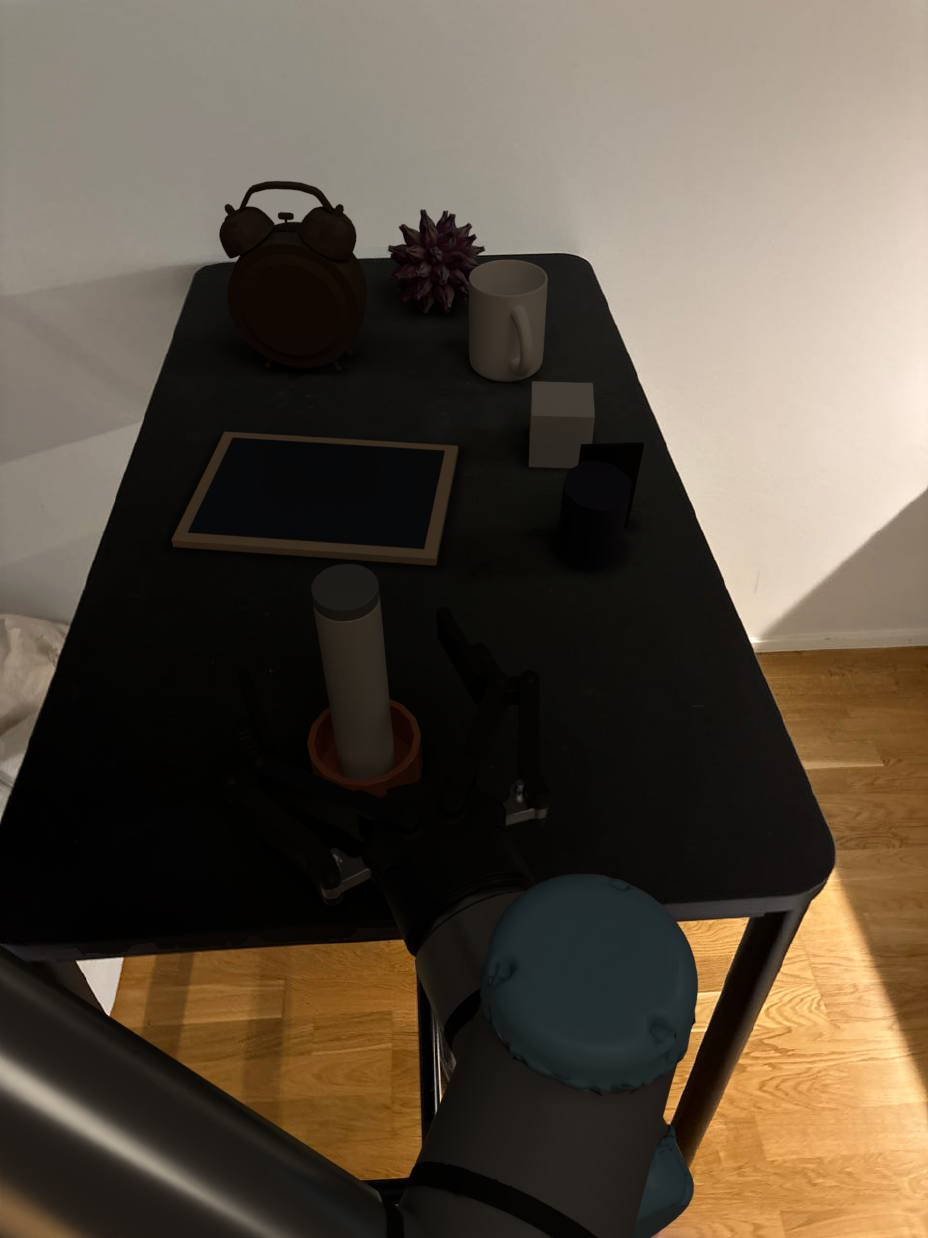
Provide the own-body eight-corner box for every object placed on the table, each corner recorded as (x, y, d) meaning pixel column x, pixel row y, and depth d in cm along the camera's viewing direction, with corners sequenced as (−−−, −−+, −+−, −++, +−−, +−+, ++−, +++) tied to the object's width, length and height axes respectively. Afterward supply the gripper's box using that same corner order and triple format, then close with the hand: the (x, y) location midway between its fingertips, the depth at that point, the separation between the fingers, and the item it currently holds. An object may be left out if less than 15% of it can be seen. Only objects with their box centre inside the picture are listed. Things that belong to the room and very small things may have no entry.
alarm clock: (376, 348, 113) (362, 169, 99) (365, 381, 108) (349, 198, 94) (252, 342, 114) (221, 164, 100) (236, 375, 109) (200, 193, 95)
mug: (562, 396, 106) (568, 307, 98) (487, 407, 104) (488, 317, 97) (531, 341, 114) (535, 255, 106) (461, 349, 112) (461, 263, 105)
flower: (396, 299, 124) (487, 274, 124) (404, 343, 116) (502, 316, 115) (370, 209, 116) (467, 182, 116) (377, 250, 108) (482, 220, 107)
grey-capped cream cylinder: (334, 787, 69) (303, 607, 57) (345, 742, 72) (318, 560, 59) (390, 792, 69) (372, 612, 56) (399, 747, 72) (383, 565, 59)
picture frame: (173, 547, 89) (170, 539, 88) (225, 438, 100) (224, 430, 100) (436, 566, 87) (436, 557, 86) (458, 452, 99) (458, 444, 98)
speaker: (567, 510, 92) (579, 424, 83) (628, 525, 90) (645, 439, 82) (546, 568, 87) (556, 484, 79) (610, 584, 86) (627, 500, 78)
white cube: (528, 467, 97) (530, 415, 93) (529, 432, 101) (531, 381, 97) (589, 468, 96) (595, 417, 92) (588, 433, 101) (593, 382, 96)
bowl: (303, 812, 69) (296, 779, 66) (326, 725, 74) (321, 691, 71) (413, 823, 68) (411, 789, 65) (429, 734, 74) (427, 699, 71)
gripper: (254, 1053, 50) (169, 747, 64) (673, 878, 57) (515, 635, 71) (228, 990, 45) (141, 670, 58) (694, 804, 52) (519, 557, 65)
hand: (346, 651), depth 65 cm, fingers open, 13 cm apart
